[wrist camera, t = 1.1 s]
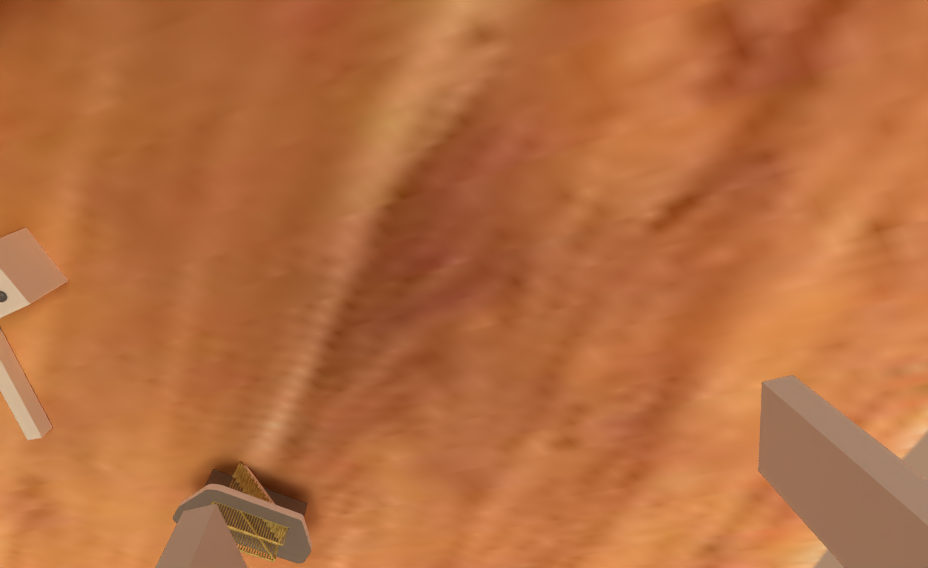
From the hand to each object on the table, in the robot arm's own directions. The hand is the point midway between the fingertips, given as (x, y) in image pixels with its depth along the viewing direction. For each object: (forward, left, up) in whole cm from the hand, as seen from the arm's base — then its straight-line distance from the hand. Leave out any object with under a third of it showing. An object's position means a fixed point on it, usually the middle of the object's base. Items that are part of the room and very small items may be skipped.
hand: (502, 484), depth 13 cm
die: (-2, -27, -25) cm, 37 cm away
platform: (+19, -17, -26) cm, 36 cm away
